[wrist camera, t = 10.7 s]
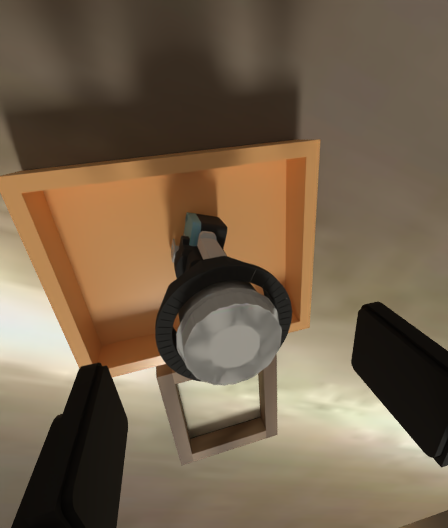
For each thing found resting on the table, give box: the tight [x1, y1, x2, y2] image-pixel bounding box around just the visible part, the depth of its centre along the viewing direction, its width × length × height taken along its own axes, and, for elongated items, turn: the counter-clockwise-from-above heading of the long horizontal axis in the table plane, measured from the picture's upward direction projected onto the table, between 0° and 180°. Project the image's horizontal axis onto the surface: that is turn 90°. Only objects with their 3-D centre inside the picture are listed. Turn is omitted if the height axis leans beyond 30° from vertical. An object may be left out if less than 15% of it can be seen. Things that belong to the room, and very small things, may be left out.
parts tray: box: [0, 140, 320, 377], centre depth 18 cm, size 16×13×3 cm
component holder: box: [156, 355, 277, 465], centre depth 25 cm, size 10×12×2 cm
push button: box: [155, 212, 292, 385], centre depth 14 cm, size 7×5×10 cm
